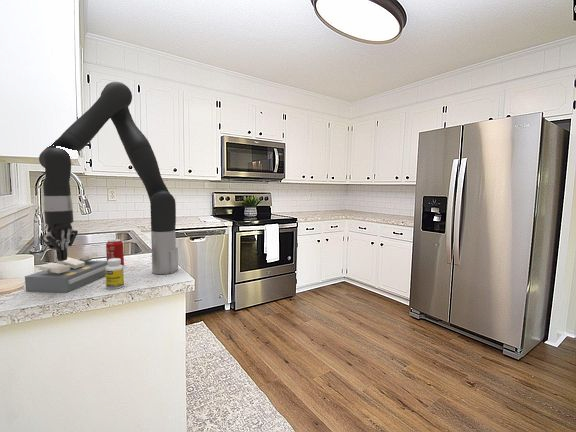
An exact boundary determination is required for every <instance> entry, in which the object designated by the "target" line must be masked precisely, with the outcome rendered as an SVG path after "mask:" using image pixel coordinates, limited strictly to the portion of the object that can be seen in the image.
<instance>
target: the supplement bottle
mask: <svg viewBox="0 0 576 432" xmlns="http://www.w3.org/2000/svg"><path fill="white" fill-rule="evenodd" d="M120 263H121V259H119V258H114V259H109V260H108V265H109V266H107V267H106V275H105V288H106V289H107V290H116V289H121V288H123V287H124V285H125V280H124V279H125V278H124V277H125V276H124V272H125V271H124V265H121V264H120Z"/></svg>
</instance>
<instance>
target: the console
mask: <svg viewBox="0 0 576 432" xmlns="http://www.w3.org/2000/svg"><path fill="white" fill-rule="evenodd" d="M107 266H109V265H108V261H107V260H90V261H87V262H85V265H84V266H82V267H79V268H76V269H74V268H70V270H68V271H65V272H62V273H51V274H48V273H47V271H42V270H39V271H37V272H34V273H32V274H28V275H26V276H24V282H25V284H24V285H25V292H36V293H37V292H41V293H65V294H67V293H69V292H71V291H73V290H77V289H78V288H81V287H82V286H84V285H87V284H89V283H91V282H94V281H96V280H98V279H101V278H103V277H106V267H107Z"/></svg>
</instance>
